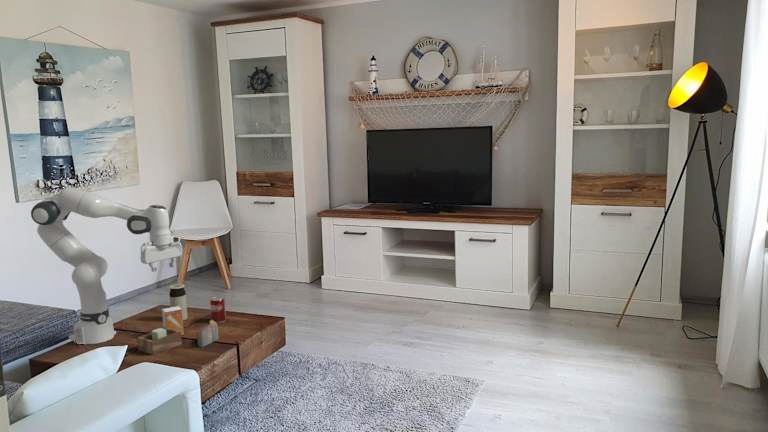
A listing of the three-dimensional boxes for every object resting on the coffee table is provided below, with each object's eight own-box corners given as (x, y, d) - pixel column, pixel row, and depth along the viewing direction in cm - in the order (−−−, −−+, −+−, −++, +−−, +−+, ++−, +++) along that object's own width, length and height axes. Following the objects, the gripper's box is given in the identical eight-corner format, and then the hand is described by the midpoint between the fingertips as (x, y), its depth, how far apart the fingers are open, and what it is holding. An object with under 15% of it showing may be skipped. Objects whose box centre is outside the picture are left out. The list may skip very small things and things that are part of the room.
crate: (138, 350, 265) (137, 337, 264) (167, 339, 278) (166, 327, 277) (153, 354, 259) (152, 341, 258) (181, 344, 272) (180, 331, 271)
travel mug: (190, 317, 310) (188, 284, 307) (182, 322, 302) (179, 288, 299) (177, 316, 311) (174, 283, 309) (168, 321, 304) (165, 287, 301)
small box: (166, 338, 279) (164, 312, 277) (163, 334, 285) (161, 308, 283) (184, 334, 284) (182, 308, 282) (180, 331, 289) (178, 305, 287)
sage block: (158, 347, 265) (157, 332, 264) (152, 345, 268) (151, 330, 267) (167, 344, 269) (166, 329, 268) (161, 342, 271) (160, 327, 270)
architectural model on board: (213, 338, 279) (212, 319, 277) (218, 339, 278) (217, 319, 276) (197, 347, 268) (195, 326, 267) (202, 348, 267) (200, 327, 266)
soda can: (221, 323, 298) (219, 301, 297) (208, 322, 300) (207, 300, 299) (228, 319, 305) (227, 296, 303) (216, 318, 307) (214, 296, 306)
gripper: (144, 244, 261) (147, 275, 263) (183, 237, 277) (185, 265, 280) (136, 243, 264) (138, 273, 266) (174, 235, 281) (177, 263, 283)
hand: (163, 269), depth 273 cm, fingers open, 8 cm apart
